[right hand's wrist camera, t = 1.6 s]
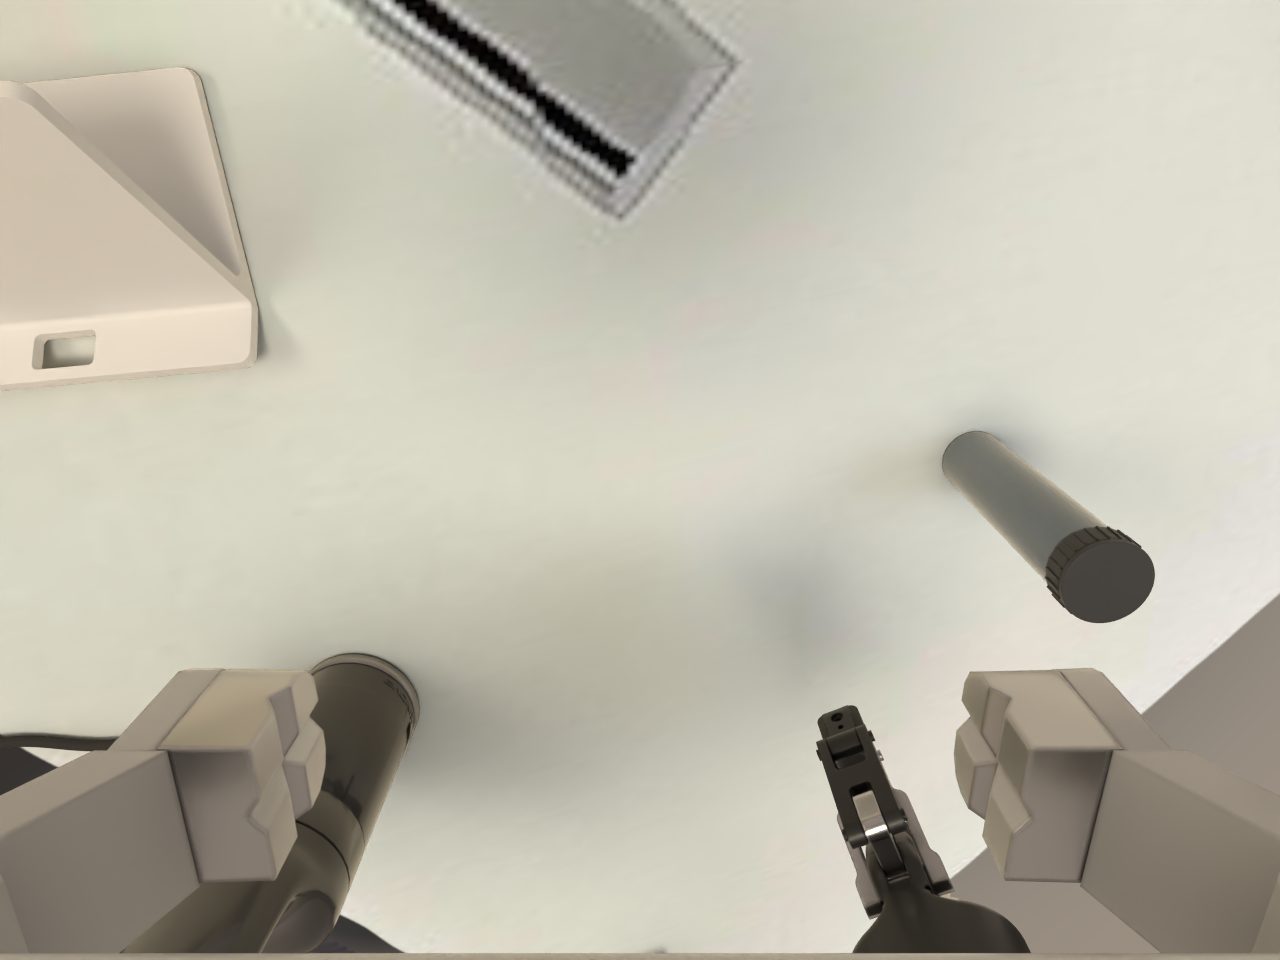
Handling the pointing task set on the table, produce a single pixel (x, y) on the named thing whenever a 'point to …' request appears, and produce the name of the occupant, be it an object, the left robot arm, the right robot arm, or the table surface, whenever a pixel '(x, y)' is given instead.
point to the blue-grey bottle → (1014, 497)
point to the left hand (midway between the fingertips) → (864, 774)
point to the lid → (1099, 574)
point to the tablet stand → (118, 231)
